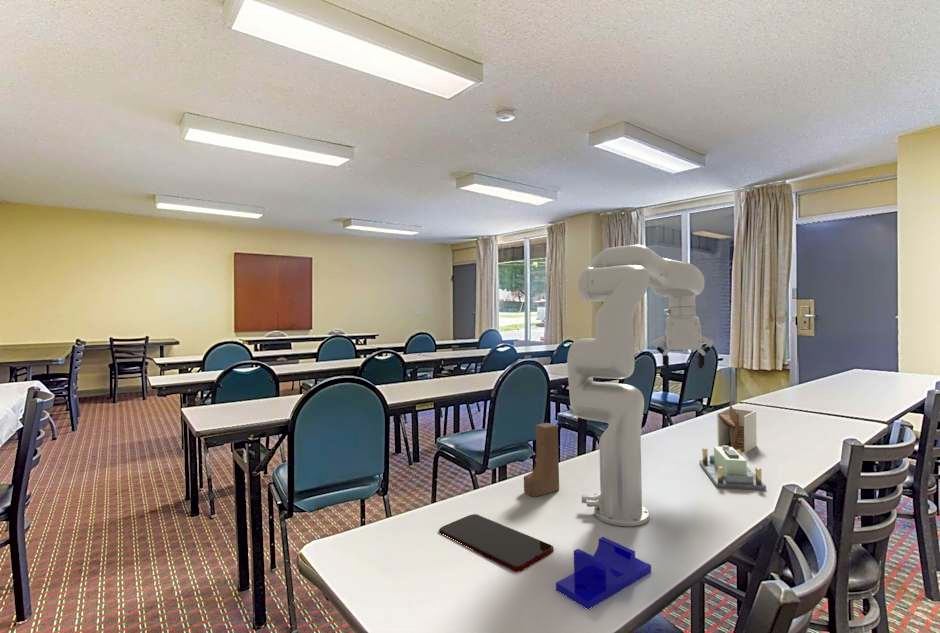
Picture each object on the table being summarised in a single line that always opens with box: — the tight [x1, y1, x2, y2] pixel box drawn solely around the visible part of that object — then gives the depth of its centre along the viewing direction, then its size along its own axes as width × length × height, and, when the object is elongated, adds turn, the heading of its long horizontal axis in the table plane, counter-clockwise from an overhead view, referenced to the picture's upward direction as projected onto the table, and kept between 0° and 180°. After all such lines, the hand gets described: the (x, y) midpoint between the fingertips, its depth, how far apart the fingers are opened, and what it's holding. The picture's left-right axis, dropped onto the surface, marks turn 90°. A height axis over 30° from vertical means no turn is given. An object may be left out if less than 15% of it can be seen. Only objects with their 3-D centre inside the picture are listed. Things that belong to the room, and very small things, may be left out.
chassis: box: [698, 447, 767, 491], centre depth 139 cm, size 12×20×5 cm, turn 167°
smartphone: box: [438, 513, 555, 573], centre depth 105 cm, size 12×2×25 cm
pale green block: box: [713, 444, 748, 478], centre depth 139 cm, size 5×13×6 cm, turn 167°
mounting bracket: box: [555, 536, 652, 610], centre depth 88 cm, size 18×7×6 cm, turn 126°
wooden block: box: [523, 422, 560, 498], centre depth 131 cm, size 9×4×18 cm, turn 119°
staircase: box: [716, 402, 758, 454], centre depth 166 cm, size 9×11×17 cm
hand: (683, 368), depth 148 cm, fingers open, 9 cm apart
